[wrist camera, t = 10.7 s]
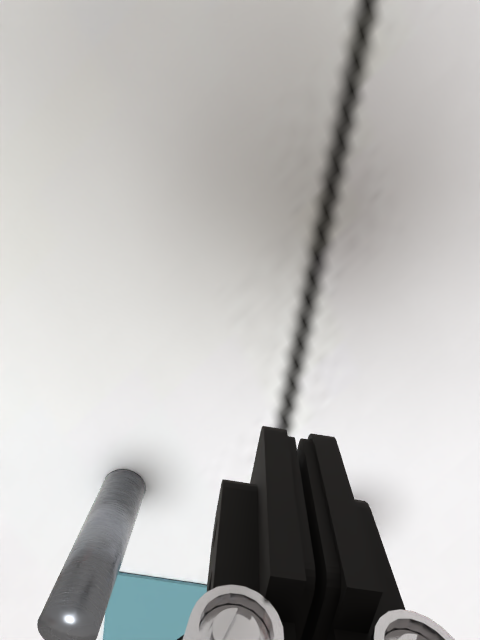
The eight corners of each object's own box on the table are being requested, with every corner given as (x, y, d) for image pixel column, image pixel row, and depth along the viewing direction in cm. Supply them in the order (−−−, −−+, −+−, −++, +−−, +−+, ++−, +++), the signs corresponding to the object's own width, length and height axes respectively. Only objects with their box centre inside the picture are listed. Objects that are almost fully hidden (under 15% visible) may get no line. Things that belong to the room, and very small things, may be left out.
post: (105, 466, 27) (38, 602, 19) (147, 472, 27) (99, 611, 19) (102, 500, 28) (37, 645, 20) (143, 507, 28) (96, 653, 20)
